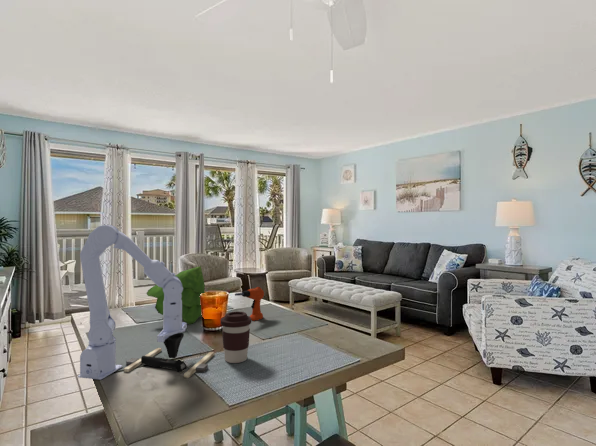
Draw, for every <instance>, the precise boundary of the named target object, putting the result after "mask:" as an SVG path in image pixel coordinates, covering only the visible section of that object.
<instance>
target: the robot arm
mask: <svg viewBox="0 0 596 446" xmlns="http://www.w3.org/2000/svg"><path fill="white" fill-rule="evenodd" d="M112 245H113V247H112V248H113V249H116V250H117V249H118V250H122V251H124V252H126V253H127V254H128V255H129V256H130V257H132V259H134V260H135V261H136V262H137V263H138V264H139V265H141V266H142V267H143V274H144V275H145V276H147V278H149V279H150V281H151V282H153V283H154V284H155V285H157V286H158V287H162V288H163V292H164V301H163V315H162V320H163V321H162V327H163V328H162V330H161V331H160V332H159V334H157V335H156V340H157V341H156V342H157V343H163V344H164V346H165V349H166V351H167V355H168V359H176V358H177V356H178V353H179V349H180V344H181V342H182V340H183V338H184V337H185V336H184V335H185V334H184V332H186V329H188V327H187V325H188V324H187V323H185V321H183V319H182V300H181V298H182V294H181V293H182V291H183V287H182V283H181V281H180V280H179V278H178V277H177V276H175V275H176V273H175V272H171V270H169V269H168V268H167V267H166V266H165V265H166V263H165V262H164V261H162V260H161V261H160V260H159V259H151V257H149V255H147V254H146V252H145V251H143V250H142V249H141V247H139V245H138V244H136V243H135V241H134V240H133V239H132V238H130V237H129V236H128V235H126V234H125V233H124V232H122V231H121V230H120V231H119V229H118V228H117V227H116V226H115V225H112V224H103V225H99V226H97V227H95V229H93V230H92V231H91V232H90V233H89V234H88V236H87V239H86V241H85V242H84V245H83V247H82V249H81V250H80V252H79V258H80V263H81V270H82V275H83V281H84V286H85V290H86V298H87V303H88V310H89V330H88V332H87V333H88V334H87V338H88V345H87V346H86V348H85V349H84V350H82V352H80V355H79V374H78V375H77V378H80V379H81V378H82V379H89V380H91V379H92V380H99V381H100V380H103V379H105V378H107V377H108V376H110V375H111V374H113V373H114V372H116V371H118V370H120V369H122V368H123V365H122V364H116V363H117V351H116V349H117V344H116V343H117V338H116V337H115V336H114V335H113V334H114V331H115V330H116V321H115V320H114V318H113V317H112V315H111V310H110V309H109V305H108V301H107V294H106V290H105V289H106V288H105V283H104V277H103V271H102V266H101V259H100V257H101V255H102V254H103V253H104V252H105V251H106V250H107V248H109V247H111V246H112Z"/></svg>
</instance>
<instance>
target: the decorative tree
mask: <svg viewBox="0 0 596 446" xmlns="http://www.w3.org/2000/svg"><path fill="white" fill-rule="evenodd" d="M175 276H177V277H178V278H179V280H180V281H181V283H182V287H183V291H182V293H181V294H182V298H181V300H182V321H183V322H185V323H187V325H188V326H189V325H191V326H192V325H194V324H195V323H196V321H197V320H199V318H200V317H202V315H201V305H200V297H199V296H200V294H201V293H205V294H206V292H205V291H206V290H205V279H204V275H203V270H202V266H201V265H200V266H197V267H193V268H189V269H186V270H183V271H179V272H178V273H177V274H175ZM145 294H146V295H147V296H148V297H152V298H155V299H156V302H155V306H154V308H155V311H157V313H158V314H160V315H161V316H163V301H164V292H163V288H162V287H158V286H157V285H156V284H155V285H153V286H152V287H150V288H149V289H148V290H147V292H146V293H145Z"/></svg>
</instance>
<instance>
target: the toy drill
mask: <svg viewBox="0 0 596 446" xmlns="http://www.w3.org/2000/svg"><path fill="white" fill-rule="evenodd" d="M234 296H242V297H244V298H247V299H249V300H250V299H251V300H252V304H251V306H250V307H251V308H252V311H251V314H250V316H249V315H248V316H249V317H251V320H252V321H251V322H255V320H256V321H260V320H262V319H263V318H264V315H263V312H261V300H262V299H263V298H264V296H265V291H264V290H263V289H262V288H261V286H257V287H253V288H250V289H247V290H244V291H241V292H240V293H239V292H238V293H237V292H236V293H234ZM259 319H260V320H259Z"/></svg>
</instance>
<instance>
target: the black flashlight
mask: <svg viewBox="0 0 596 446" xmlns="http://www.w3.org/2000/svg"><path fill="white" fill-rule="evenodd" d="M140 358H141V362H142V364H141V365H145V366H149V367H152V368H155V369H158V368H159V369H160V368H162V369H168V370H172V371H173V370H175V371H176V372H178V373H180V372H184V371H186V370H187V369H188V367H187V363H185V361H183V360H181V359H177V360H176V359H171V358H163V357H157V356H153V357H149V356H145V355H142V356H141V357H140Z"/></svg>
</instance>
